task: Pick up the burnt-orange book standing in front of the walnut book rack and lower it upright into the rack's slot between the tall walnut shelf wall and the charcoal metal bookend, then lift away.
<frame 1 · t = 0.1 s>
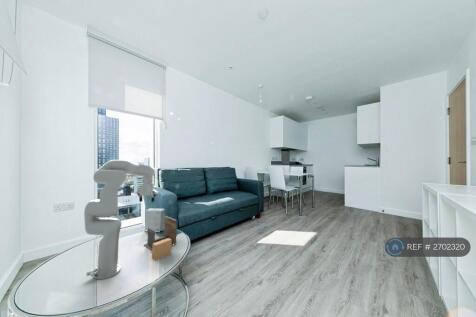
hand: (146, 201, 149), 31 cm above the table, tool pointing down, fingers open, 9 cm apart
hard drive box: (154, 231, 166), on the table
book rack: (160, 244, 139), on the table
book: (161, 255, 123), on the table
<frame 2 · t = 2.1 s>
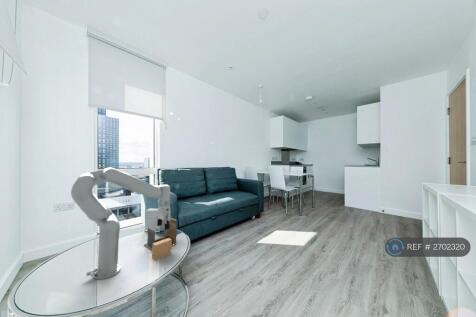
hand: (163, 227, 124), 20 cm above the table, tool pointing down, fingers open, 9 cm apart
nothing on the table moved.
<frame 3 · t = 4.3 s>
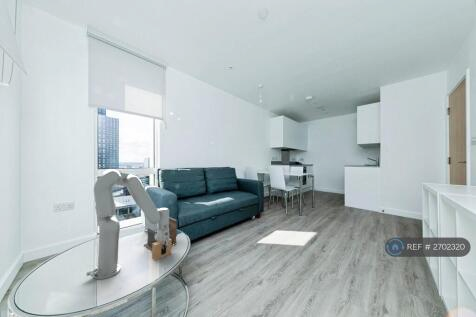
hand: (161, 252, 123), 2 cm above the table, tool pointing down, fingers closed on book, 4 cm apart
book: (161, 255, 123), on the table, touching gripper
everything else where it was.
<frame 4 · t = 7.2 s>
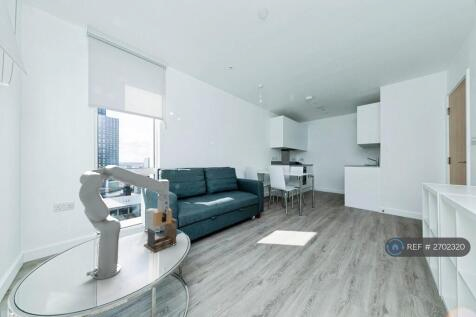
hand: (162, 220, 132), 22 cm above the table, tool pointing down, fingers closed on book, 4 cm apart
book: (162, 224, 132), point 19 cm above the table, touching gripper
everything else where it was.
when the fingers open (5 cm above the table, at t = 10.5 s): book drops 2 cm, resting on book rack.
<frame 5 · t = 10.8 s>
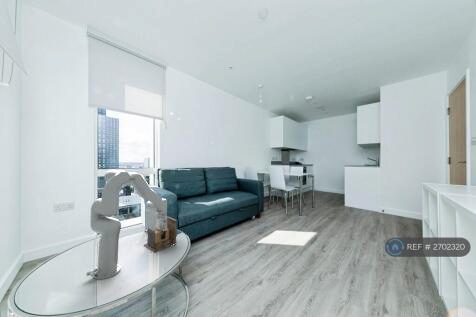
hand: (160, 237, 139), 6 cm above the table, tool pointing down, fingers open, 7 cm apart
book: (160, 243, 139), point 1 cm above the table, touching book rack
everything else where it was.
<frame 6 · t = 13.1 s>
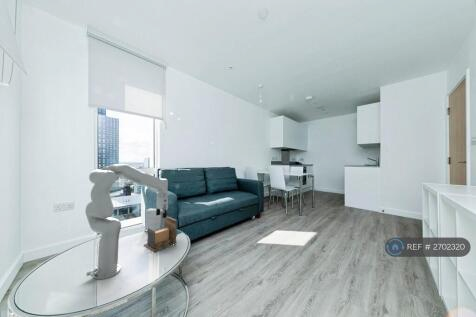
hand: (161, 216, 140), 22 cm above the table, tool pointing down, fingers open, 9 cm apart
nothing on the table moved.
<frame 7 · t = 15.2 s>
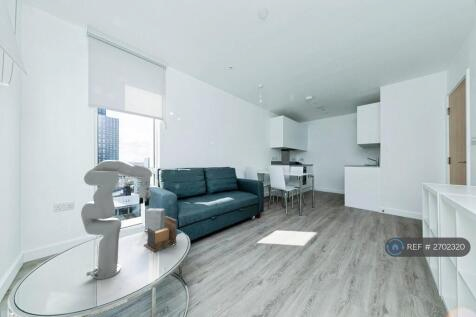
hand: (144, 204, 142), 30 cm above the table, tool pointing down, fingers open, 9 cm apart
nothing on the table moved.
at the end: book 0.0 cm off-centre on the book rack, point 1.0 cm above the book rack's base; book tilted 0°; the gripper is holding nothing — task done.
